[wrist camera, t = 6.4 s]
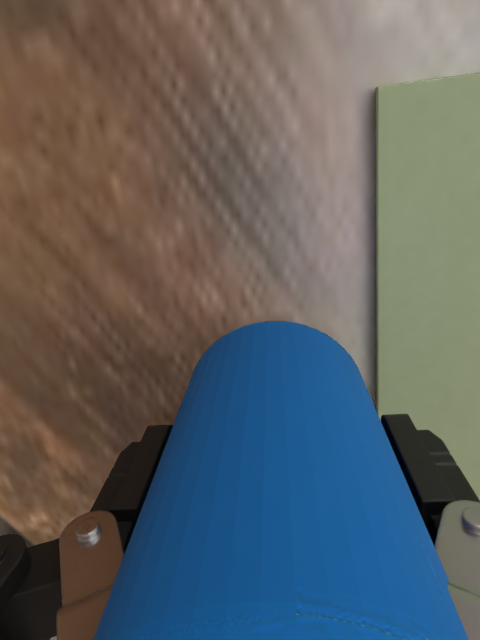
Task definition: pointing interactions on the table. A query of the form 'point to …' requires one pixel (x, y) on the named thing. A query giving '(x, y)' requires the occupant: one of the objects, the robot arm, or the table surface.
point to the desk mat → (430, 260)
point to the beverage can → (279, 509)
